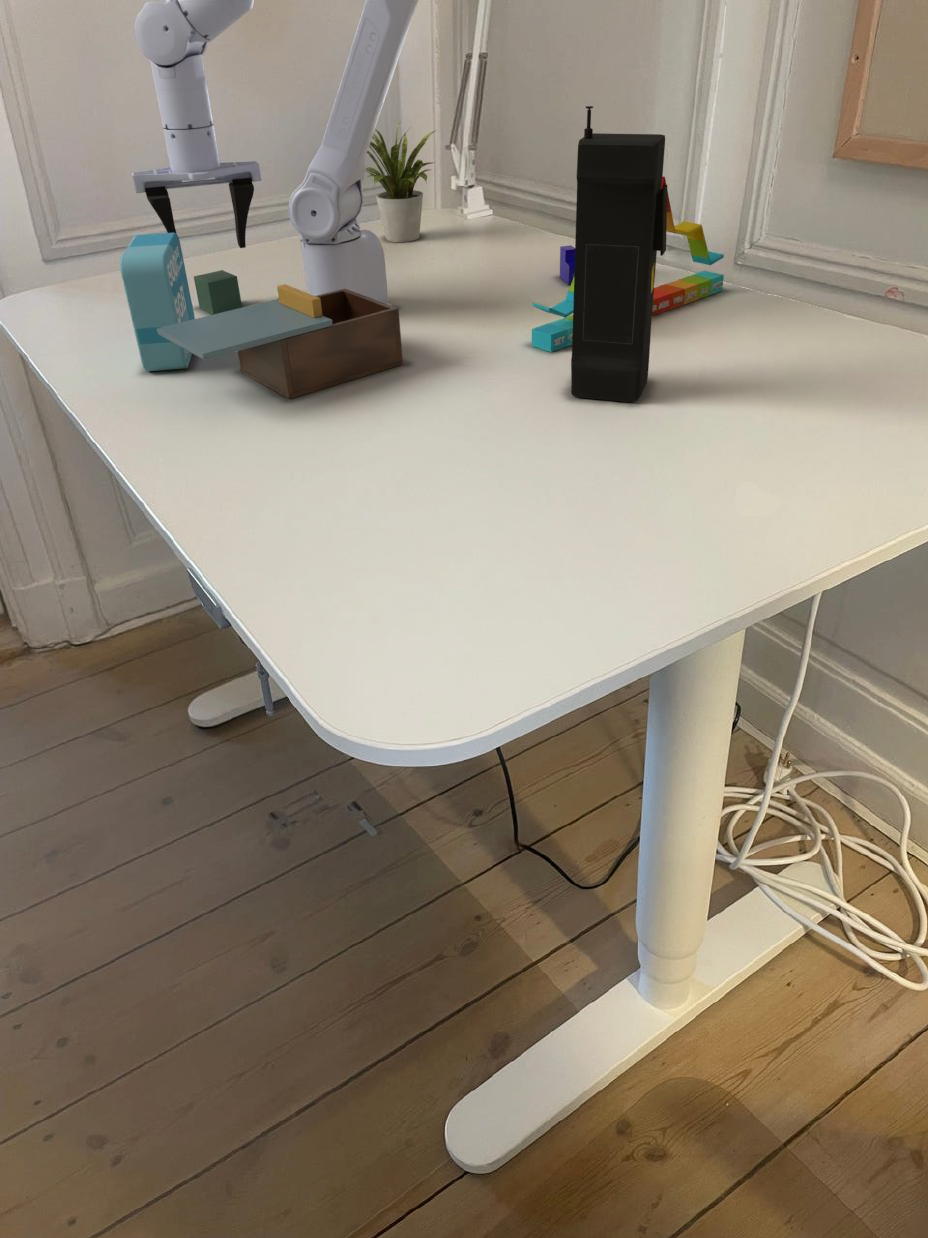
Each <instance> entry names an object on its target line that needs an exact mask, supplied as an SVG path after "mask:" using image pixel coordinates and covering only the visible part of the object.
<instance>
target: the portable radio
mask: <svg viewBox="0 0 928 1238" xmlns="http://www.w3.org/2000/svg"><path fill="white" fill-rule="evenodd" d="M593 108H594V106H592V105H585V109H587V110H586V128H584V129H583V137H582V138H580V139H579V140H578V142H577V159H576V161H577V162H576V208H575V209H576V210H575V240H574V241H575V243H574V248H575V271H574V304H573V314H572V315H573V337H572V345H571V358H570V359H571V360H570V378H571V379H570V380H571V381H570V382H571V383H570V384H571V388H570V393H571V396H573V397H574V398H581V399H582V398H583V399H592V400H602V401H603V400H604V401H613V402H623V403H632V402H635V400H636V401H637V400H638V399H639V398H640V397H641V396H642V394H643V392H644V390H645V387H646V386H647V384H648V380H649V379H648V378H649V366H650V351H651V337H652V322H653V321H652V320H653V316H652V309H653V296H654V288H655V282H656V268H657V254H658V252H660V253H659V255H660V257H663V256H664V255H665V253H666V252H667V231H666V230H667V190H668V184H666V185H665V186H664V187H663V188H662V176H663V174H664V164H665V163H664V162H665V151H666V150H665V149H666V135H664V134H658V133H656V134H655V133H597V132H596V133H595V132H594V129H593V128H592V127H591V125H592V123H591V122H592V109H593ZM663 177H664V176H663Z"/></svg>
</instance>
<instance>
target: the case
mask: <svg viewBox="0 0 928 1238" xmlns="http://www.w3.org/2000/svg"><path fill="white" fill-rule="evenodd" d="M316 297H318V298H320V299H321V307H322V316H324V317H327V318H329V319H331V320H332V323H333V326H329V327H325V328H322V329H318V330H314V331H310V332H307V333H303V334H299V335H296V336H292V337H288V338H284V339H281V340H277V341H273V342H270V343H266V344H262V345H258V346H255V347H251V348H247V349H244V350H240V351H236V352H237V357H238V363H239V369H240V373H241V374H243V375H244V376H246V377H248V378H250V379H252V380H254V381H255V382H257V383H259V384H261V385H262V386H264V387H267V388H268V389H270V390H271V391H274V392H275V393H277V394H279V395H281V396H283V397H285V398H286V399H288V400H292V399H295V398H298V397H300V396H304V395H307V394H311V393H314V392H317V391H320V390H324V389H327V388H330V387H334V386H337V385H340V384H344V383H346V382H347V383H348V382H351V381H353V380H357V379H361V378H363V377H366V376H369V375H373V374H376V373H380V372H383V371H386V370H389V369H392V368H397V367H399V366H403V365H404V363H403V350H402V349H403V348H402V336H401V335H402V334H401V323H400V309H399V308H398V307H396V306H393V305H392V306H390V305H388V304H385V303H382V302H380V301H377V300H374V299H372V298H369V297H367V296H364V295H361V294H359V293H356V292H353V291H351V290H348V289H341V290H337V291H333V292H329V293H325V294H321V295H317V296H316Z"/></svg>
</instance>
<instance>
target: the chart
mask: <svg viewBox="0 0 928 1238" xmlns="http://www.w3.org/2000/svg"><path fill="white" fill-rule="evenodd" d="M665 185H667V180H666V176H662V188H663V187H664V186H665ZM666 233H672V234H677V235H681V236H686V239H687V244H688V247H689V251H690V256H691V259H692V262H693V263H698V264H702V265H708V266H712V265H714V264H715V263H717V262H719V261H720V260H722V259H725V258H724V257H725V254H723V253H719V252H713V251H709V250H708V246H707V242H706V237H705V233H704V229H703V224H701V223H695V222H691V221H681V222H680V223H679V224H676V225H675V222H674V217H673V212H672V206H671V202H670V196H669V191H668V189H667V230H666ZM724 277H725V274H721V273H717V272H712V271H708V270H702V271H700V272H699V271H698V272H696V273H693V274H691V275H688V276H685V277H682V278H679V279H676V280H673V281H670V282H668V283H665V284H661V285H659V286H654V296H653V309H652V317H653V316H657V315H659V314H661V313H664V312H668V311H670V310H672V309H675V308H676V309H677V308H678V307H682V306H684V305H687V304H689V303H692V302H695V301H697V300H700V299H703V298H705V297H709V296H711V295H713V294H717V293H719V292H722V291H723V286H724ZM573 304H574V279H573V281H572V283H571V285H569V288H568V291H567V293H566V295H565V298H564V300H562V301H560V302H559V303H557V304H555V305H553V306H551V307H549V306H546V305H543V304H540V303H536V302H531V306H532V307H535V308H536V309H539V310H541V311H543V312H546V313H548V314H551V315H554V316H558V317H562V318H560V319H557V320H555V321H552V322H548V323H545V324H543V325H539V326H536V327H534V328H531V346H532V347H533V348H536V349H540V350H543V351H546V352H549V353H552V352H556V351H558V350H560V349H564V348H566V347H569V346H572V337H573Z"/></svg>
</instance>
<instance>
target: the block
mask: <svg viewBox="0 0 928 1238" xmlns="http://www.w3.org/2000/svg"><path fill="white" fill-rule="evenodd" d="M193 281H194V286H195V291H196V296H197V302H198V308H199V309H200V310H202V311H204V312H206V313H208V314H210V315H214V314H218V313H222V312H226V311H230V310H234V309H238V308H242V307H243V304H242V299H241V292H240V287H239V280H238V276H237V275H235V274H233V273H230V272H227V271H225V270H223V269H221V270H217V271H216V270H215V271H212V272H211V271H210V272H208V273H203V274H199V275H198V274H197V275H194V276H193Z"/></svg>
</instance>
